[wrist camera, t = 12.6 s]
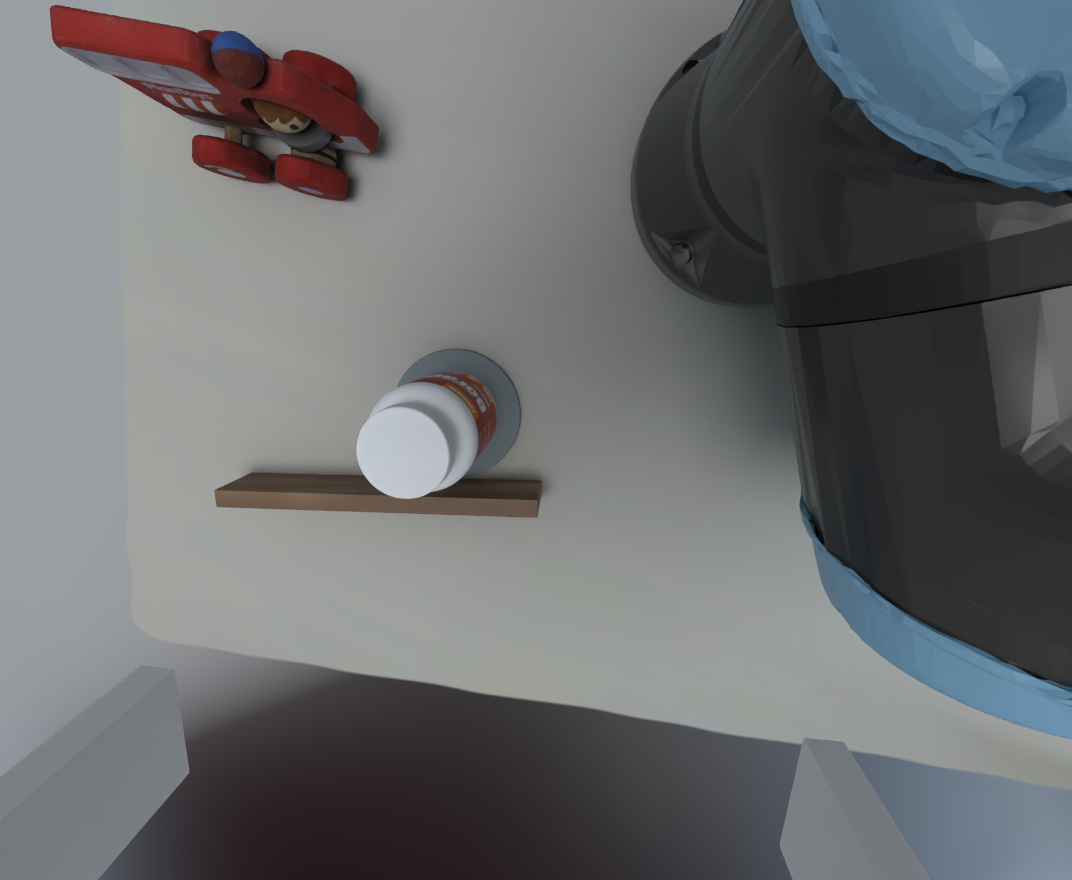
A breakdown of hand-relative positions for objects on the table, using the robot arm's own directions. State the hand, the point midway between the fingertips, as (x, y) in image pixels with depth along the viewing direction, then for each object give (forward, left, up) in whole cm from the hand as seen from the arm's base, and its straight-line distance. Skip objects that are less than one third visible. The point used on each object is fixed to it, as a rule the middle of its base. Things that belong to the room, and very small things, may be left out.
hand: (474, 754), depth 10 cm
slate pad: (-2, -6, -26) cm, 27 cm away
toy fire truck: (-20, -16, -26) cm, 37 cm away
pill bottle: (-2, -6, -25) cm, 26 cm away
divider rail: (+3, -11, -26) cm, 28 cm away
